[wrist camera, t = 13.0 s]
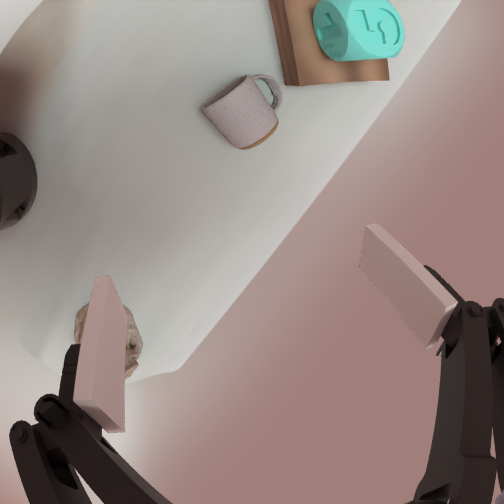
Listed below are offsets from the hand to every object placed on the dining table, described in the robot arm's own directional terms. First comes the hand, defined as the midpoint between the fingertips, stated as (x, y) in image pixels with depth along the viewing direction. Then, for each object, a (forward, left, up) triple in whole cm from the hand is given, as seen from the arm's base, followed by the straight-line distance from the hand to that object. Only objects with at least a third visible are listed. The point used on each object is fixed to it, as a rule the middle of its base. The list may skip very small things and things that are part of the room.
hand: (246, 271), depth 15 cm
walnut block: (+18, +16, -30) cm, 38 cm away
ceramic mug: (+6, +5, -30) cm, 31 cm away
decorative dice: (+18, +16, -24) cm, 34 cm away
